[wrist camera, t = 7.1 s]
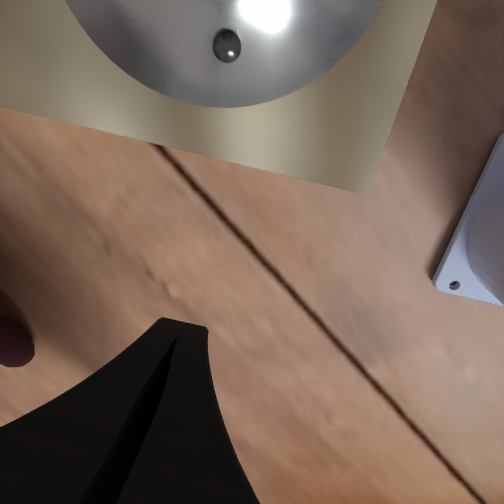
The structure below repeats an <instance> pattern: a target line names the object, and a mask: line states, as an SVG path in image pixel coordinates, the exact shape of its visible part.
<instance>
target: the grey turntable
mask: <svg viewBox="0 0 504 504" xmlns="http://www.w3.org/2000/svg"><path fill="white" fill-rule="evenodd" d="M65 2H66V3H67V5H68V7H69V8H70V10H71V12H72V13H73V15H74V17H75V18H76V20H77V21H78V23H79V24H80V25H81V27H82V28H83V29H84V31H85V32H86V33H87V35H88V36H89V37H90V38H91V40H92V41H93V42H94V43H95V44H96V45H97V46H98V48H99V49H100V50H101V51H102V52H103V53H104V54H105V55H106V56H107V57H108V58H109V59H110V60H111V61H112V62H113V63H115V64H116V65H117V66H118V67H119V68H121V69H122V70H123V71H124V72H126V73H127V74H128V75H129V76H131V77H132V78H134V79H136V80H137V81H139V82H140V83H142V84H143V85H145V86H146V87H148V88H150V89H152V90H154V91H156V92H158V93H161V94H163V95H165V96H167V97H170V98H173V99H176V100H179V101H182V102H185V103H188V104H193V105H199V106H205V107H214V108H237V107H246V106H253V105H257V104H261V103H266V102H270V101H273V100H276V99H278V98H281V97H283V96H286V95H288V94H291V93H293V92H295V91H297V90H298V89H300V88H302V87H304V86H305V85H307V84H309V83H311V82H313V81H314V80H315V79H317V78H318V77H319V76H321V75H322V74H323V73H325V72H326V71H327V70H329V69H330V68H331V67H332V66H333V65H334V64H335V63H337V62H338V61H339V60H340V59H341V58H342V57H343V56H344V55H345V54H346V53H347V52H348V51H349V50H350V49H351V48H352V46H353V45H354V44H355V43H356V41H357V40H358V39H359V38H360V37H361V35H362V34H363V33H364V32H365V31H366V29H367V28H368V26H369V24H370V23H371V21H372V20H373V18H374V17H375V15H376V14H377V12H378V11H379V9H380V7H381V5H382V3H383V2H384V0H65Z"/></svg>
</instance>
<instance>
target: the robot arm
mask: <svg viewBox="0 0 504 504" xmlns="http://www.w3.org/2000/svg"><path fill="white" fill-rule="evenodd" d="M453 281H457V282H456V284H455V285H454V286H452V287H449V285H450V283H451V282H453ZM432 283H433V285H434V287H435V288H436V289H437V290H438V291H441V292H445V293H449V294H453V295H458V296H462V297H466V298H471V299H475V300H479V301H483V302H488V303H492V304H496V305H501V306H504V133H502V134H501V135H500V137H499V138H498V140H497V142H496V144H495V146H494V148H493V150H492V153H491V155H490V157H489V159H488V161H487V163H486V165H485V168H484V170H483V172H482V174H481V176H480V178H479V180H478V183H477V185H476V187H475V189H474V191H473V193H472V195H471V198H470V200H469V202H468V204H467V206H466V208H465V210H464V213H463V215H462V217H461V219H460V221H459V223H458V225H457V228H456V230H455V232H454V234H453V236H452V238H451V240H450V243H449V245H448V247H447V249H446V251H445V253H444V255H443V258H442V260H441V262H440V264H439V266H438V268H437V270H436V273H435V275H434V277H433V280H432ZM208 332H209V331H208V330H207V328H206V327H204V326H200V325H195V324H191V323H186V322H182V321H177V320H173V319H168V318H164V317H162V318H160V319H158V320H157V321H156V322H155V323H154V324H153V325H152V326H151V327H150V328H149V329H148V330H147V331H146V332H145V333H144V334H143V335H141V336H140V337H139V338H138V339H137V340H136V341H135V342H134V343H132V344H131V345H130V346H129V347H127V348H126V349H125V350H124V351H123V352H121V353H120V354H119V355H118V356H116V357H115V358H114V359H113V360H111V361H110V362H109V363H107V364H106V365H104V366H103V367H102V368H100V369H99V370H97V371H96V372H95V373H93V374H92V375H91V376H89V377H88V378H86V379H85V380H83V381H82V382H80V383H79V384H77V385H76V386H74V387H73V388H71V389H69V390H68V391H66V392H65V393H63V394H61V395H60V396H58V397H56V398H55V399H53V400H51V401H49V402H48V403H46V404H44V405H42V406H40V407H38V408H37V409H35V410H33V411H31V412H29V413H27V414H26V415H24V416H22V417H20V418H18V419H16V420H14V421H12V422H10V423H8V424H6V425H4V426H2V427H0V504H260V503H259V501H258V499H257V497H256V495H255V493H254V491H253V489H252V487H251V485H250V483H249V481H248V479H247V477H246V475H245V473H244V470H243V468H242V466H241V464H240V462H239V460H238V458H237V455H236V453H235V450H234V448H233V446H232V443H231V441H230V438H229V435H228V433H227V430H226V427H225V424H224V421H223V418H222V415H221V412H220V409H219V405H218V401H217V398H216V394H215V390H214V386H213V381H212V375H211V370H210V364H209V357H208Z"/></svg>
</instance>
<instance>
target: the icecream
mask: <svg viewBox="0 0 504 504" xmlns="http://www.w3.org/2000/svg"><path fill="white" fill-rule="evenodd" d="M34 355H35V350H34V344H33V342H32V341H31V339H30V338H29V337H28V335H27V334H26V332H25V331H24V330H23V328H22V327H20V326H19V325H17V324H16V323H14V322H12V321H11V320H9V319H8V318H6V317H4V316H3V315H0V364H1V365H4V366H6V367H21V366H24V365H26V364H27V363H29V362H30V361H31V360H32V358H33V356H34Z"/></svg>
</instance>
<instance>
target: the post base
mask: <svg viewBox="0 0 504 504" xmlns="http://www.w3.org/2000/svg"><path fill="white" fill-rule="evenodd" d="M437 1H438V0H384V2H383V3H382V5H381V7H380V9H379V11H378V12H377V14H376V15H375V17H374V18H373V20H372V21H371V23H370V24H369V26H368V28H367V29H366V31H365V32H364V33H363V34H362V35H361V37H360V38H359V39H358V40H357V41H356V43H355V44H354V45H353V46H352V48H351V49H350V50H349V51H348V52H347V53H346V54H345V55H344V56H343V57H342V58H341V59H340V60H339V61H338V62H337V63H335V64H334V65H333V66H332V67H331V68H330V69H329V70H327V71H326V72H325V73H323V74H322V75H321V76H319V77H318V78H317V79H315V80H314V81H313V82H311V83H309V84H307V85H305V86H304V87H302V88H300V89H298V90H297V91H295V92H293V93H291V94H288V95H286V96H283V97H281V98H278V99H276V100H273V101H270V102H266V103H261V104H257V105H253V106H246V107H237V108H214V107H205V106H199V105H193V104H188V103H185V102H182V101H179V100H176V99H173V98H170V97H167V96H165V95H163V94H161V93H158V92H156V91H154V90H152V89H150V88H148V87H146V86H145V85H143V84H142V83H140V82H139V81H137V80H136V79H134V78H132V77H131V76H129V75H128V74H127V73H126V72H124V71H123V70H122V69H121V68H119V67H118V66H117V65H116V64H115V63H113V62H112V61H111V60H110V59H109V58H108V57H107V56H106V55H105V54H104V53H103V52H102V51H101V50H100V49H99V48H98V46H97V45H96V44H95V43H94V42H93V41H92V40H91V38H90V37H89V36H88V35H87V33H86V32H85V31H84V29H83V28H82V27H81V25H80V24H79V23H78V21H77V20H76V18H75V17H74V15H73V13H72V12H71V10H70V8H69V7H68V5H67V3H66V2H65V0H0V106H2V107H6V108H10V109H15V110H19V111H23V112H27V113H31V114H35V115H39V116H43V117H47V118H52V119H56V120H60V121H64V122H68V123H72V124H76V125H80V126H84V127H89V128H93V129H97V130H101V131H105V132H109V133H113V134H117V135H121V136H126V137H130V138H134V139H138V140H142V141H146V142H150V143H154V144H158V145H163V146H167V147H171V148H175V149H179V150H183V151H187V152H191V153H195V154H200V155H204V156H208V157H212V158H216V159H220V160H224V161H228V162H232V163H237V164H241V165H245V166H249V167H253V168H257V169H261V170H265V171H269V172H274V173H278V174H282V175H286V176H290V177H294V178H298V179H302V180H306V181H311V182H315V183H319V184H323V185H327V186H331V187H335V188H339V189H343V190H348V191H352V192H356V193H360V194H364V195H368V193H369V190H370V187H371V185H372V182H373V179H374V176H375V174H376V171H377V168H378V165H379V162H380V160H381V157H382V154H383V151H384V148H385V146H386V143H387V140H388V137H389V134H390V132H391V129H392V126H393V123H394V121H395V118H396V115H397V112H398V109H399V107H400V104H401V101H402V98H403V95H404V93H405V90H406V87H407V84H408V82H409V79H410V76H411V73H412V70H413V68H414V65H415V62H416V59H417V56H418V54H419V51H420V48H421V45H422V42H423V40H424V37H425V34H426V31H427V29H428V26H429V23H430V20H431V17H432V15H433V12H434V9H435V6H436V3H437Z"/></svg>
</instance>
